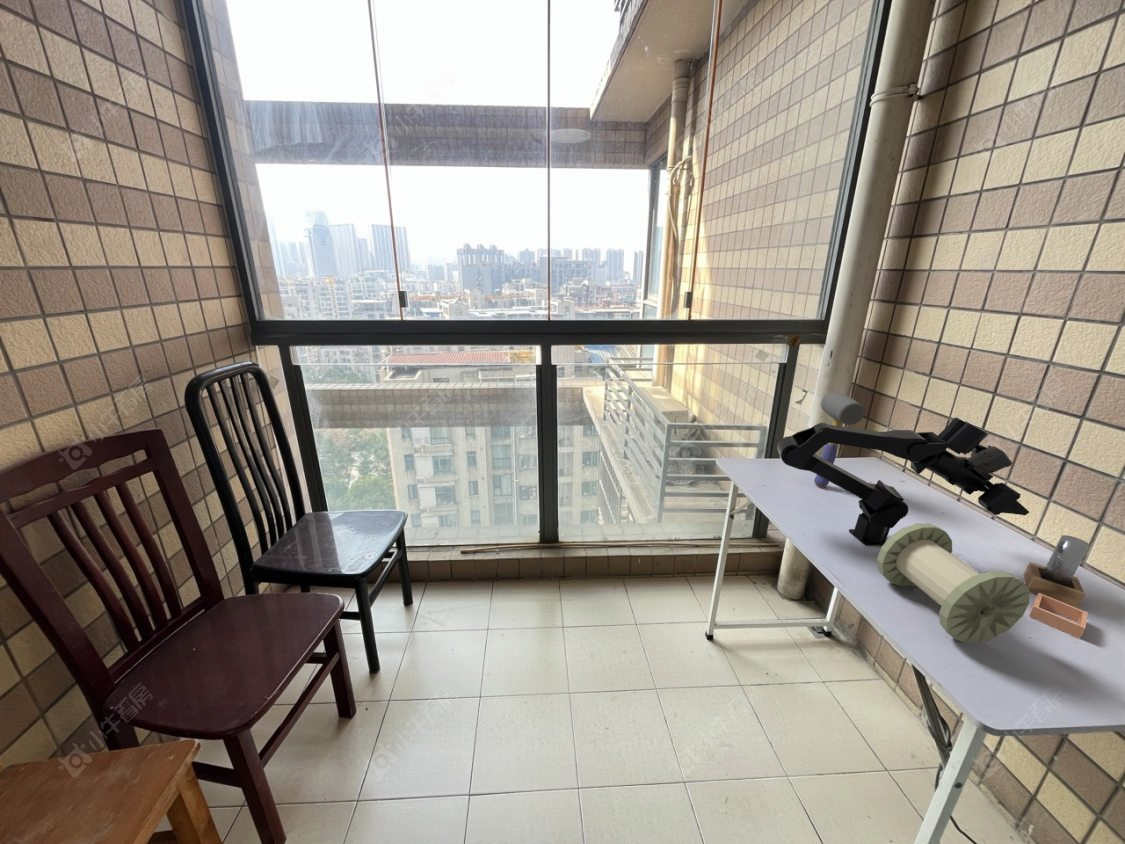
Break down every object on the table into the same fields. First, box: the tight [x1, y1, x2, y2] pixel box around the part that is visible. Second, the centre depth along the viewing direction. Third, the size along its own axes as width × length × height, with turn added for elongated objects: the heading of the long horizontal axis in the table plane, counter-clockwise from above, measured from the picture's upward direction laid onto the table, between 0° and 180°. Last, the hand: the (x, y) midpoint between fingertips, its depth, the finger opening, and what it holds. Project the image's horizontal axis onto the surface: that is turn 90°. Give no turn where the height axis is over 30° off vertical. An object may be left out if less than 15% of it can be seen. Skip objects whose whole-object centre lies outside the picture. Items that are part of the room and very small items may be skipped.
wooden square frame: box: [1022, 561, 1086, 609], centre depth 93 cm, size 7×7×4 cm
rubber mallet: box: [813, 391, 865, 488], centre depth 132 cm, size 12×8×30 cm, turn 174°
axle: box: [1041, 534, 1091, 587], centre depth 92 cm, size 4×4×13 cm
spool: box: [876, 522, 1031, 644], centre depth 85 cm, size 16×15×15 cm
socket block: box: [1028, 593, 1089, 639], centre depth 85 cm, size 7×7×2 cm
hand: (1013, 503), depth 98 cm, fingers open, 9 cm apart
